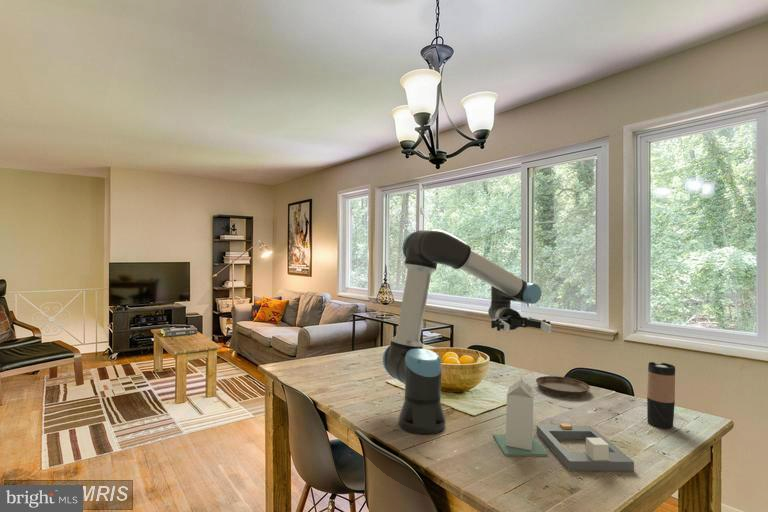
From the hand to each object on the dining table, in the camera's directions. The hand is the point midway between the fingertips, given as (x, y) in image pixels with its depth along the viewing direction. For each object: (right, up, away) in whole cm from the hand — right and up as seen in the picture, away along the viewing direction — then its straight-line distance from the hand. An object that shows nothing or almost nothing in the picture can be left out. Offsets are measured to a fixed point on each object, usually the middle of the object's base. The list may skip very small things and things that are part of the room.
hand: (529, 329), depth 133 cm
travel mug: (+45, -33, +4) cm, 56 cm away
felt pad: (-7, -32, -12) cm, 35 cm away
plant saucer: (+27, -32, +37) cm, 56 cm away
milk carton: (-7, -32, -12) cm, 35 cm away
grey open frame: (+10, -32, -14) cm, 37 cm away
